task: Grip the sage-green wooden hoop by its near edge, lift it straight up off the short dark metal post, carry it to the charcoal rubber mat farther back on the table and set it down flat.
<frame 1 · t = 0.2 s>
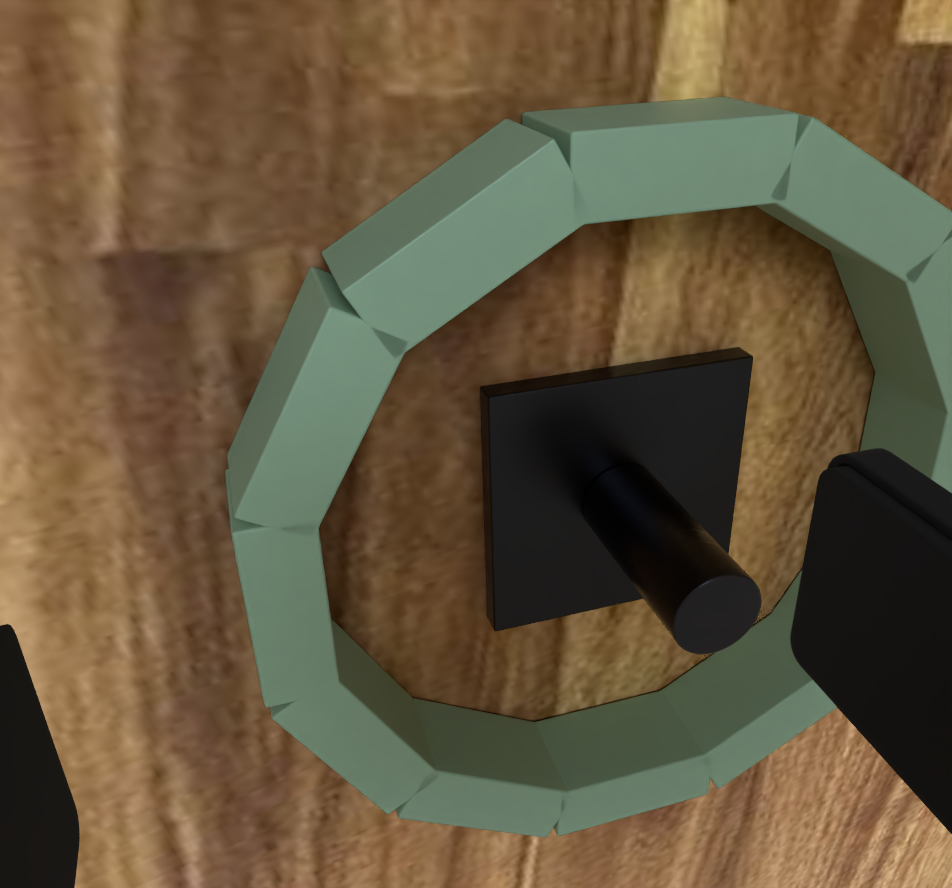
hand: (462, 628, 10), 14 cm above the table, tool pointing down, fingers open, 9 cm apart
hoop: (608, 486, 27), on the table
post: (608, 486, 27), on the table
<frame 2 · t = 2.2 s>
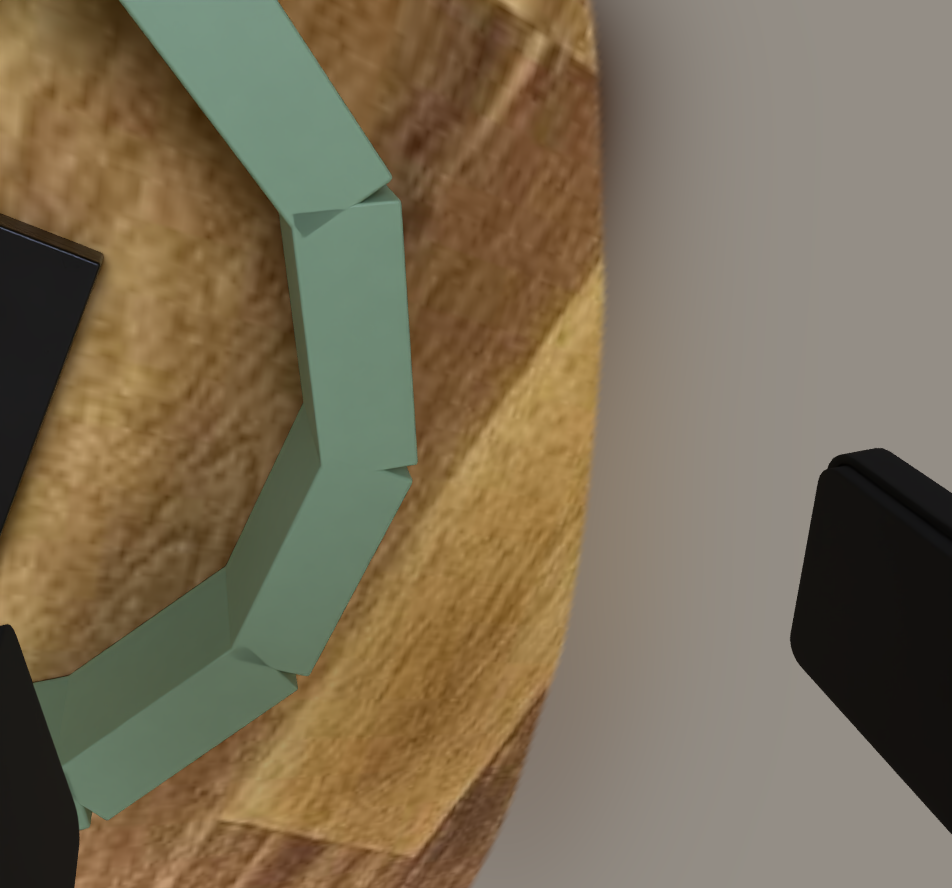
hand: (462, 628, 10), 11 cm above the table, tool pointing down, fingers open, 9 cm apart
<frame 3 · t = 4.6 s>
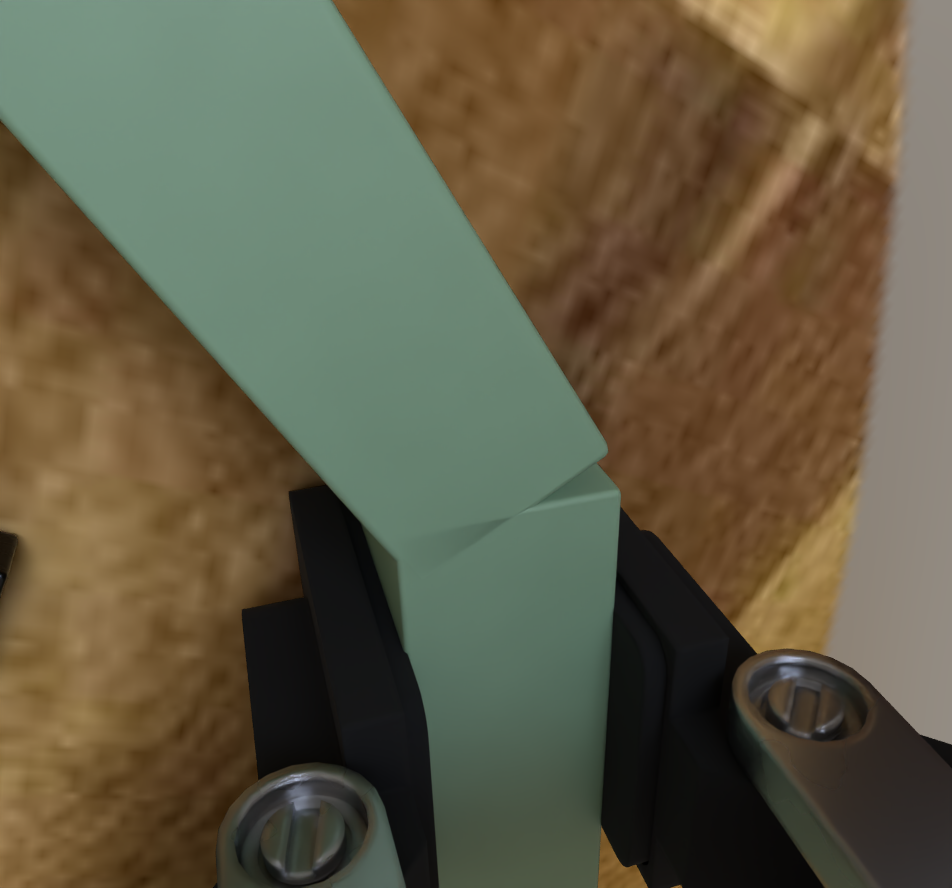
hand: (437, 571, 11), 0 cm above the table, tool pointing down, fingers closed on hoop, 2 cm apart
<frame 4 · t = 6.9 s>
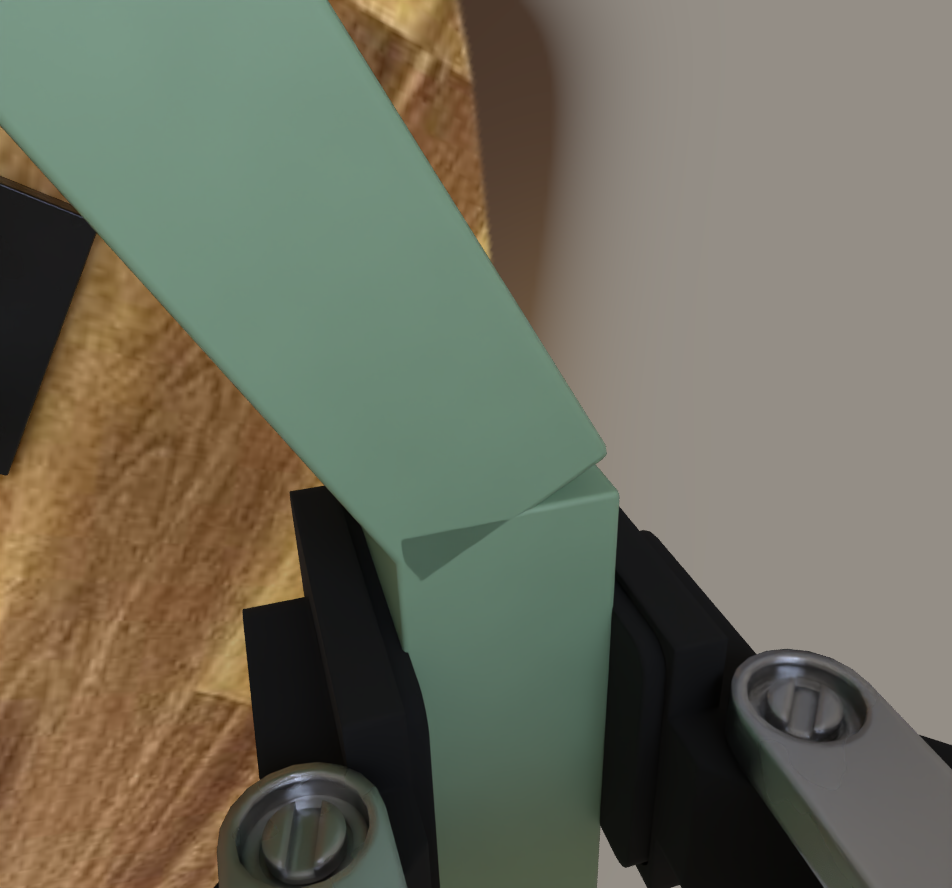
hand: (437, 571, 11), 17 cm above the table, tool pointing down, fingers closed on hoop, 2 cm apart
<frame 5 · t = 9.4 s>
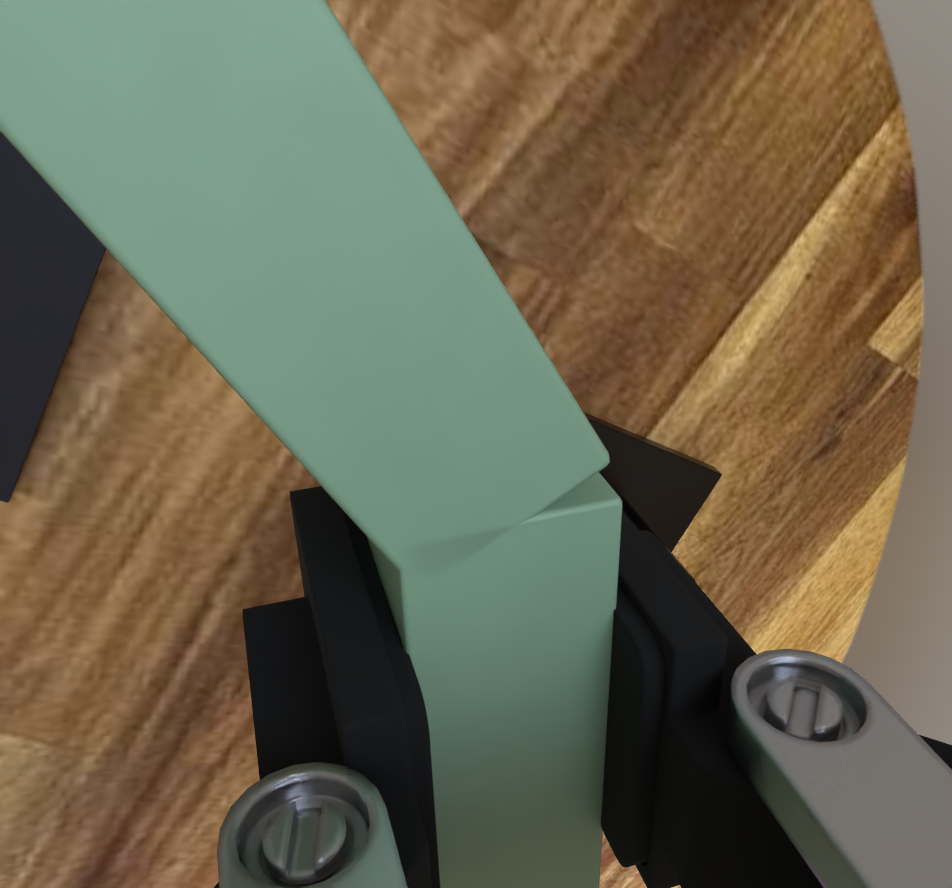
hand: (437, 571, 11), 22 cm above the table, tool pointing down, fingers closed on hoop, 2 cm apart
post: (602, 513, 40), on the table
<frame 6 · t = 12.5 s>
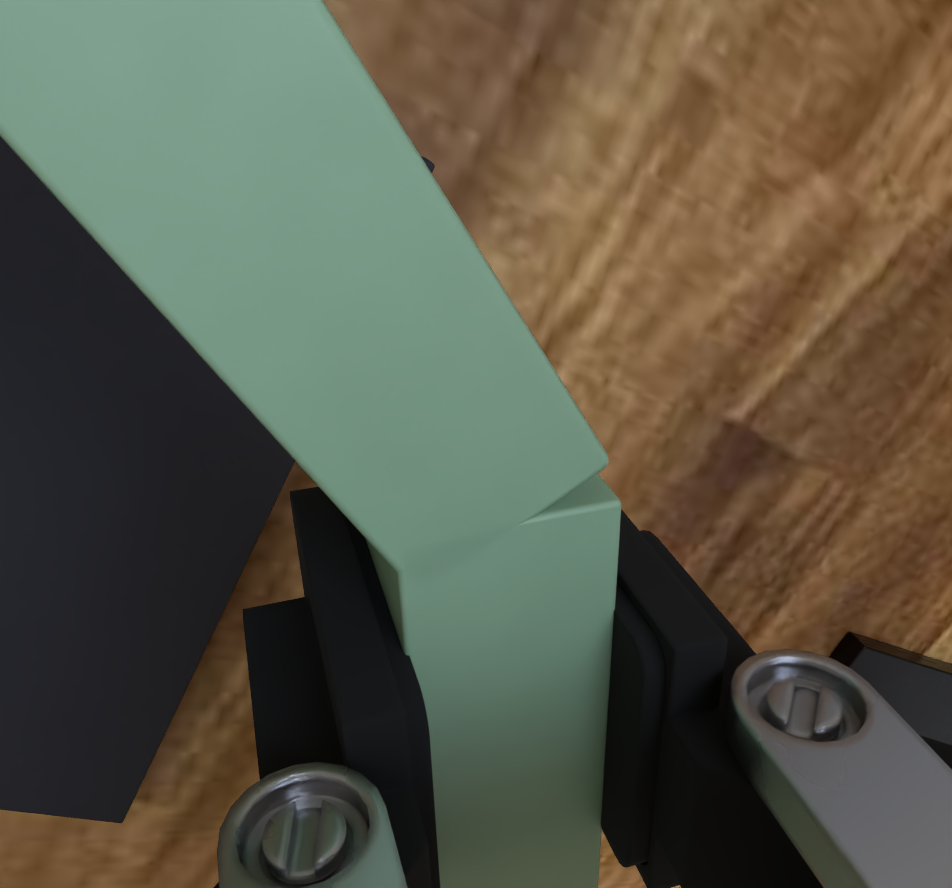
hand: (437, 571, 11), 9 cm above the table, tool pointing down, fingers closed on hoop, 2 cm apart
post: (858, 743, 31), on the table
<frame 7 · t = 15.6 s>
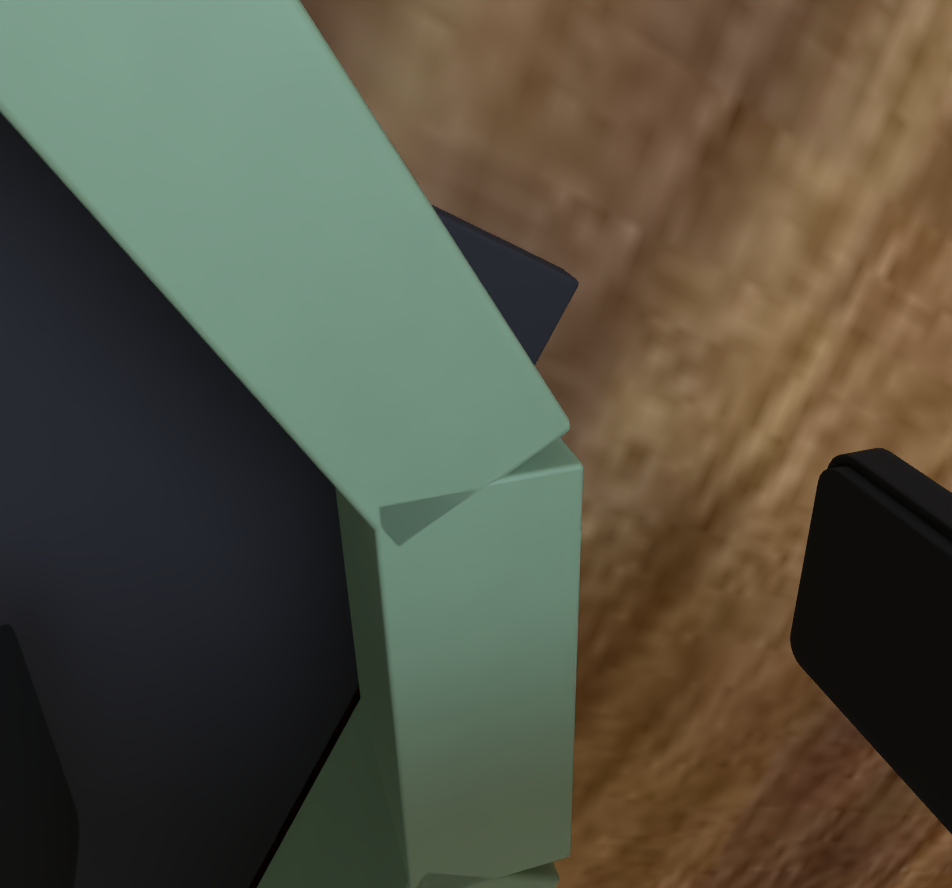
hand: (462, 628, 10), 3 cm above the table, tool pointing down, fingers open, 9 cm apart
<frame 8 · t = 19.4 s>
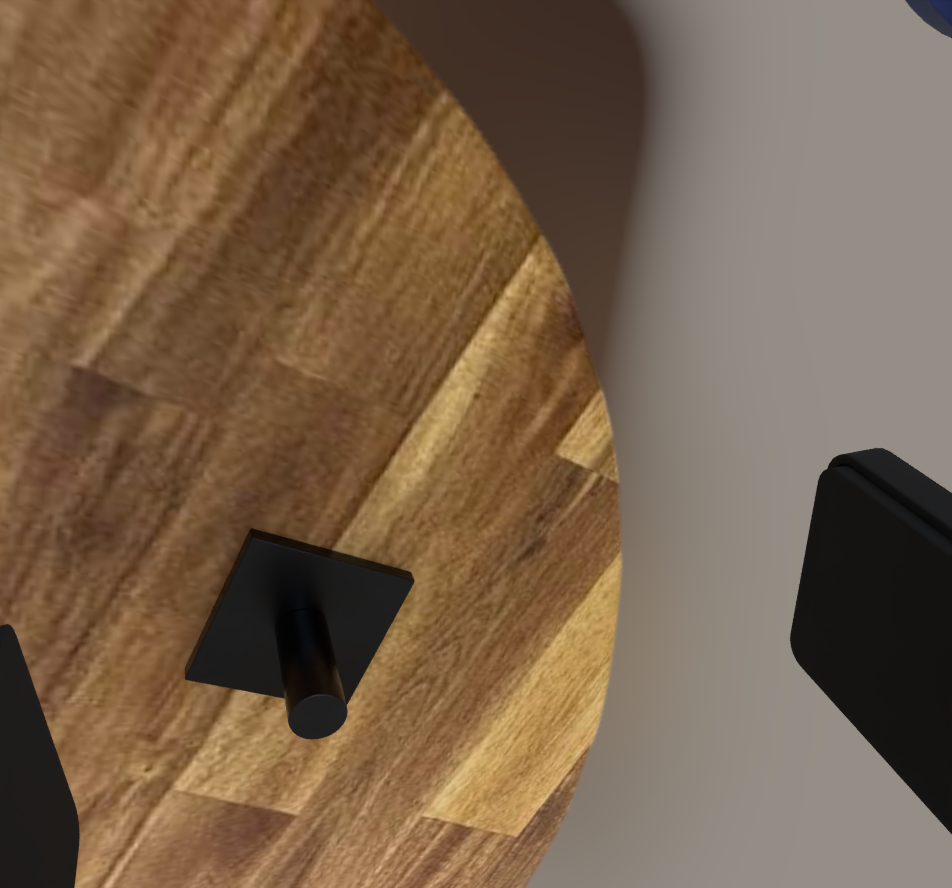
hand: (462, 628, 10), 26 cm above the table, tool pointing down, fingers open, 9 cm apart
post: (299, 619, 42), on the table
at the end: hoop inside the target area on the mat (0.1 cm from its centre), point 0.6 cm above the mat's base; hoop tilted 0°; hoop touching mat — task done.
